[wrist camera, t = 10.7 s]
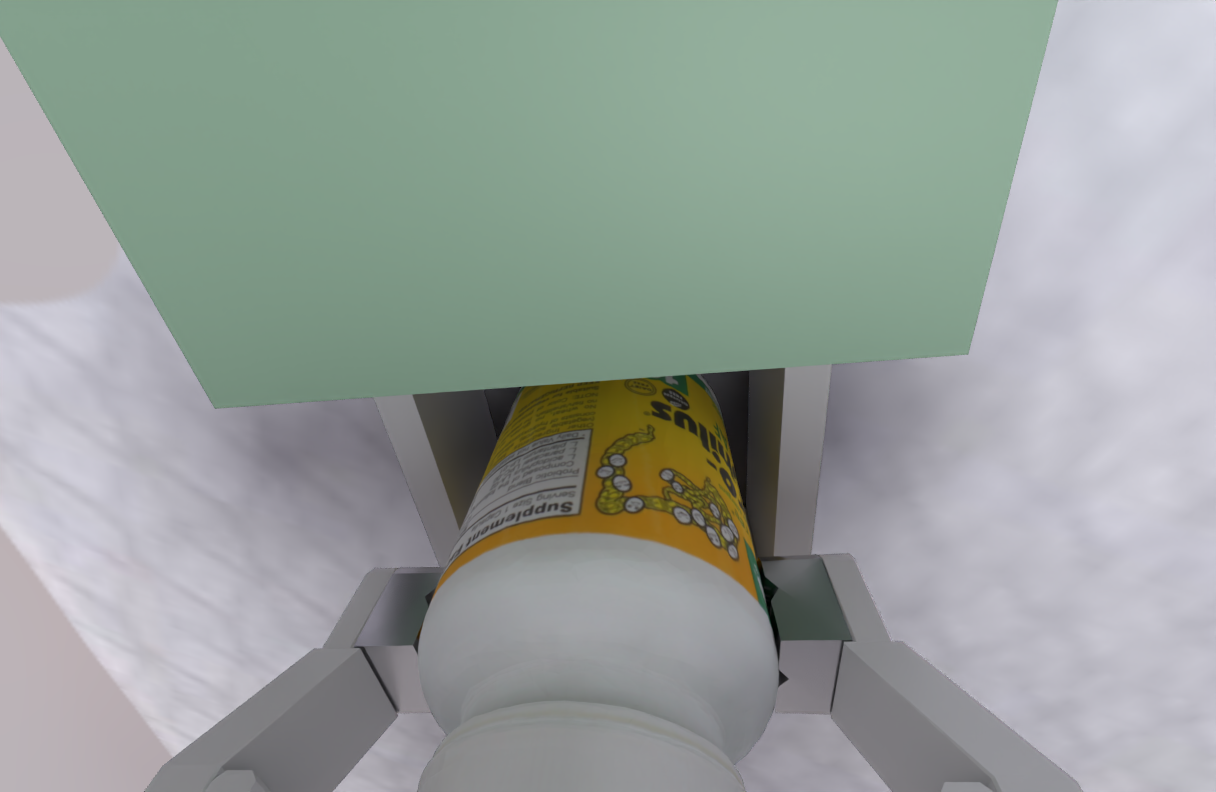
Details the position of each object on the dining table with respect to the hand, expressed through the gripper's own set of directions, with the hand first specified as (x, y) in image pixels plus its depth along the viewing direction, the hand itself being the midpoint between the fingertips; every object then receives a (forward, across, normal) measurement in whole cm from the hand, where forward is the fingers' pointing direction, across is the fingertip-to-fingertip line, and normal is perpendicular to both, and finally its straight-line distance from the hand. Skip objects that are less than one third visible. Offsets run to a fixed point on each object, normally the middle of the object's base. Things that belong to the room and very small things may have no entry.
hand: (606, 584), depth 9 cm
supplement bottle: (+5, 0, 0) cm, 5 cm away
